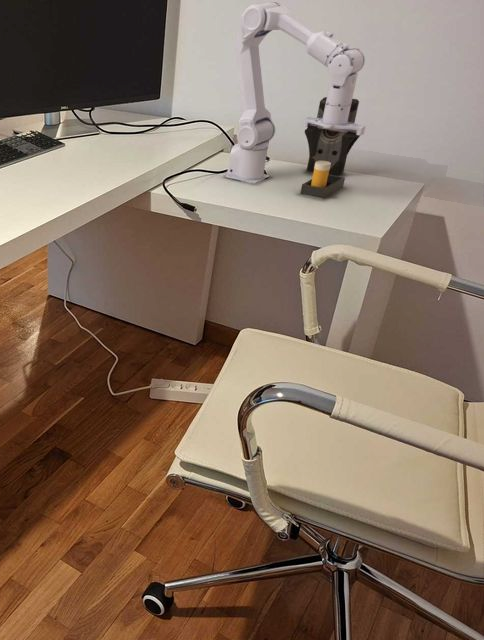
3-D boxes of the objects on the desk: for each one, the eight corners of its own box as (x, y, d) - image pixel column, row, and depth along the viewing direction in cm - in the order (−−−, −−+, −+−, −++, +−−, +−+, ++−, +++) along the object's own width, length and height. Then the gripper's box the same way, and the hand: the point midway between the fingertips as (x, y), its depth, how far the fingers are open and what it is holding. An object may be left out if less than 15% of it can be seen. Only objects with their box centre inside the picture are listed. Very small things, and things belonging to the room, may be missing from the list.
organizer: (299, 194, 175) (302, 184, 173) (320, 183, 181) (322, 173, 180) (322, 200, 171) (324, 189, 169) (342, 188, 177) (345, 177, 176)
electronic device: (304, 174, 188) (318, 101, 177) (309, 168, 192) (323, 96, 181) (340, 178, 184) (356, 103, 173) (344, 172, 188) (360, 98, 177)
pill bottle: (306, 193, 174) (312, 163, 170) (313, 189, 176) (319, 159, 172) (320, 196, 172) (326, 165, 168) (327, 192, 174) (333, 162, 170)
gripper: (301, 102, 164) (292, 157, 171) (361, 111, 155) (348, 168, 162) (315, 97, 168) (305, 151, 175) (374, 105, 159) (360, 161, 166)
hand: (326, 159), depth 169 cm, fingers open, 7 cm apart
